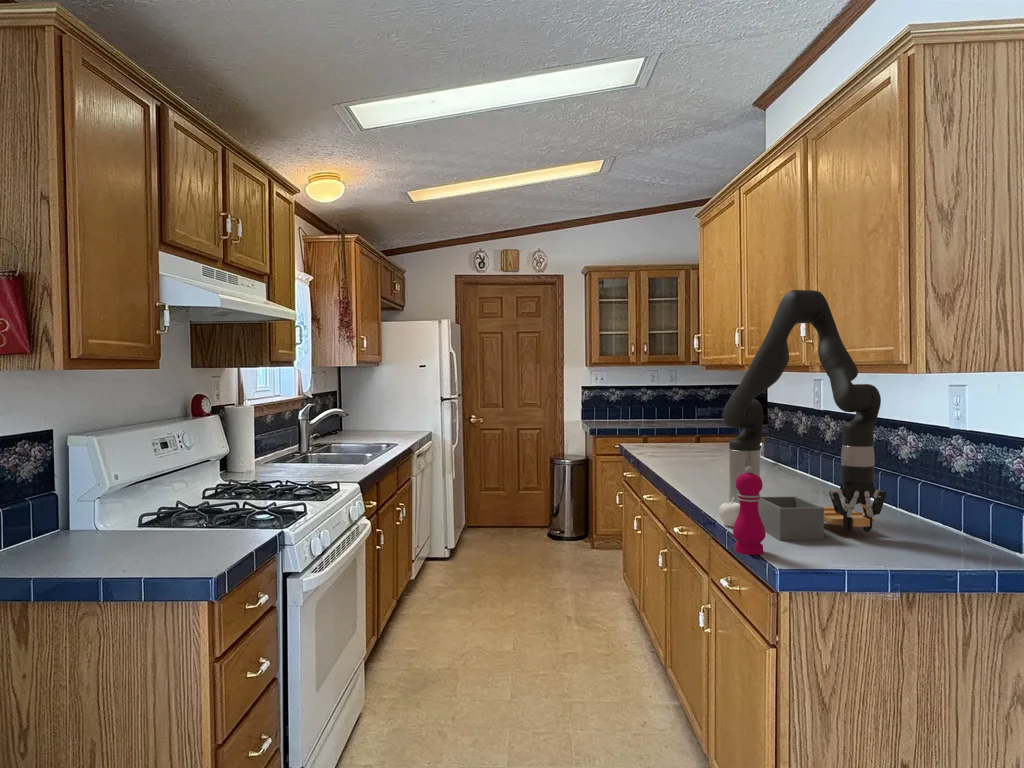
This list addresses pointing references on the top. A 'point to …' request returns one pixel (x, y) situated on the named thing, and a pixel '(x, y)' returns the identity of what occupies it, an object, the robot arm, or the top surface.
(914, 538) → the top surface
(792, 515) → the tub
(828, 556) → the top surface
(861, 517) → the wooden paddle board
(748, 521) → the pepper mill
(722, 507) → the apple
